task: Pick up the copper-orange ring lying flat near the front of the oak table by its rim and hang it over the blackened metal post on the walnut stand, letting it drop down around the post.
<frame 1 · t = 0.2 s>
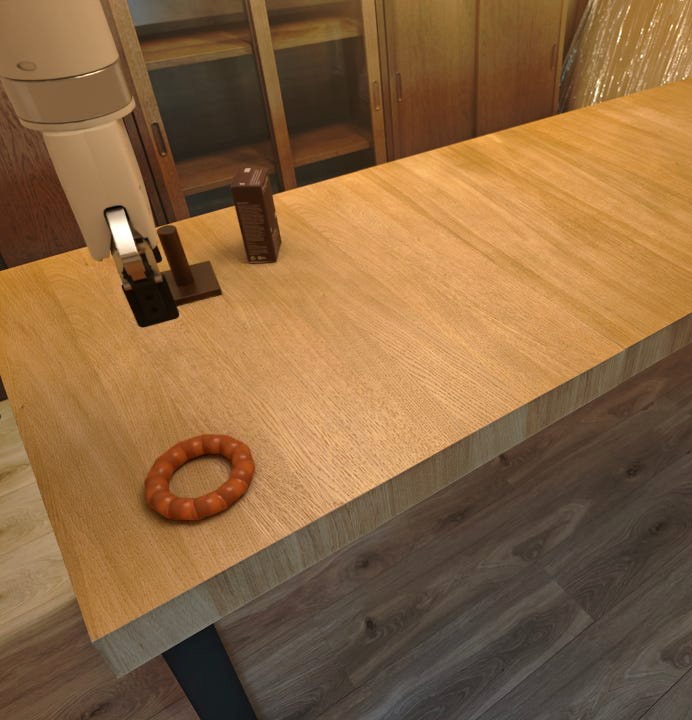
hand: (151, 291, 56), 18 cm above the table, tool pointing down, fingers open, 9 cm apart
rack: (186, 287, 89), on the table
ring: (200, 474, 63), point 1 cm above the table
box: (266, 253, 96), on the table
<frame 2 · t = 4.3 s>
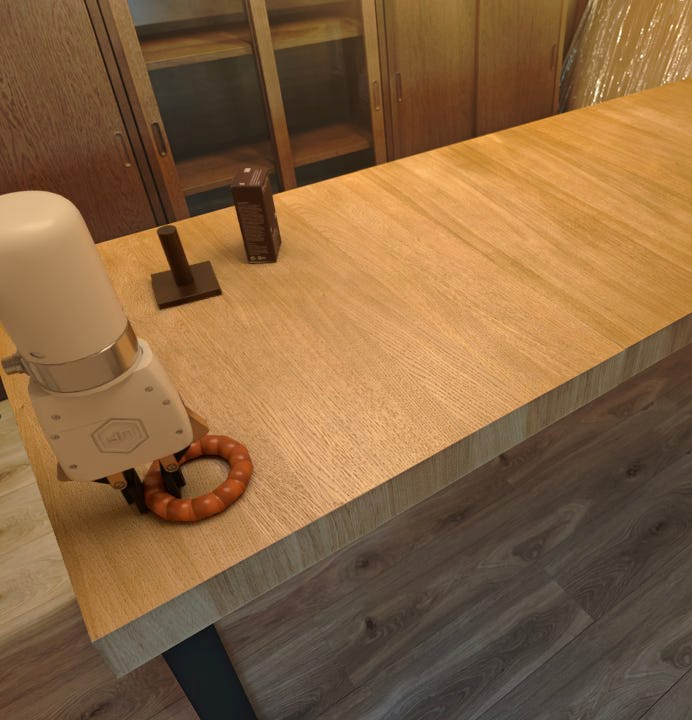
hand: (159, 495, 62), 0 cm above the table, tool pointing down, fingers closed on ring, 2 cm apart
ring: (198, 475, 63), point 1 cm above the table, touching gripper
everything else where it was.
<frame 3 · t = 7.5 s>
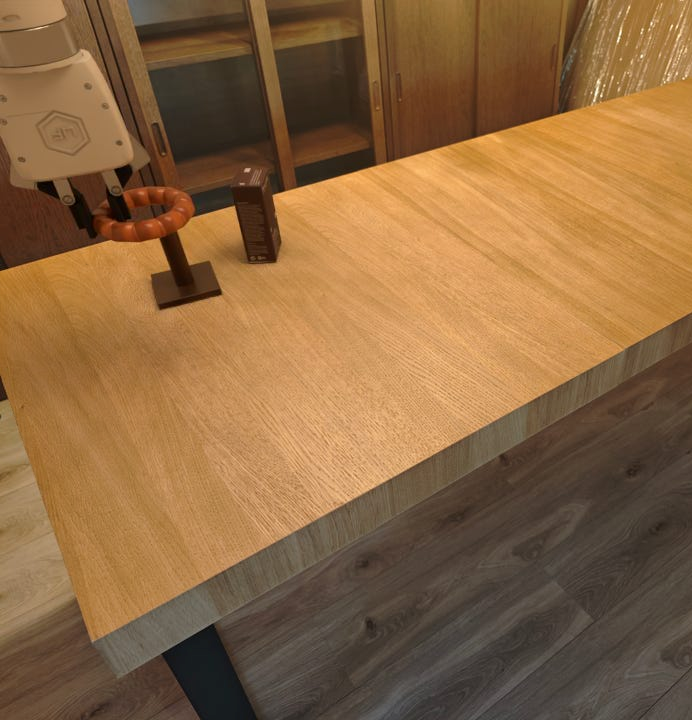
hand: (108, 228, 68), 17 cm above the table, tool pointing down, fingers closed on ring
ring: (144, 213, 69), point 17 cm above the table, touching gripper
everything else where it was.
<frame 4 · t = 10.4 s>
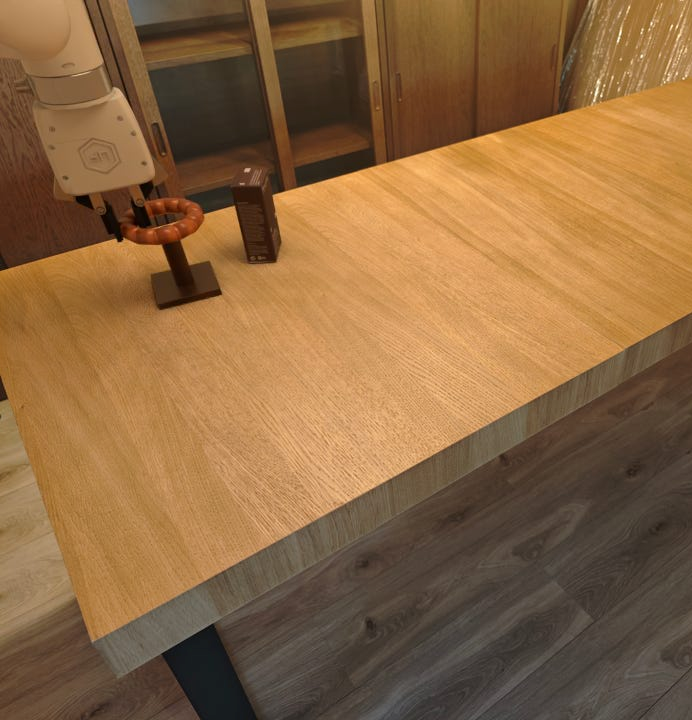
hand: (132, 233, 81), 9 cm above the table, tool pointing down, fingers closed on ring
ring: (162, 220, 82), point 10 cm above the table, touching gripper
everything else where it was.
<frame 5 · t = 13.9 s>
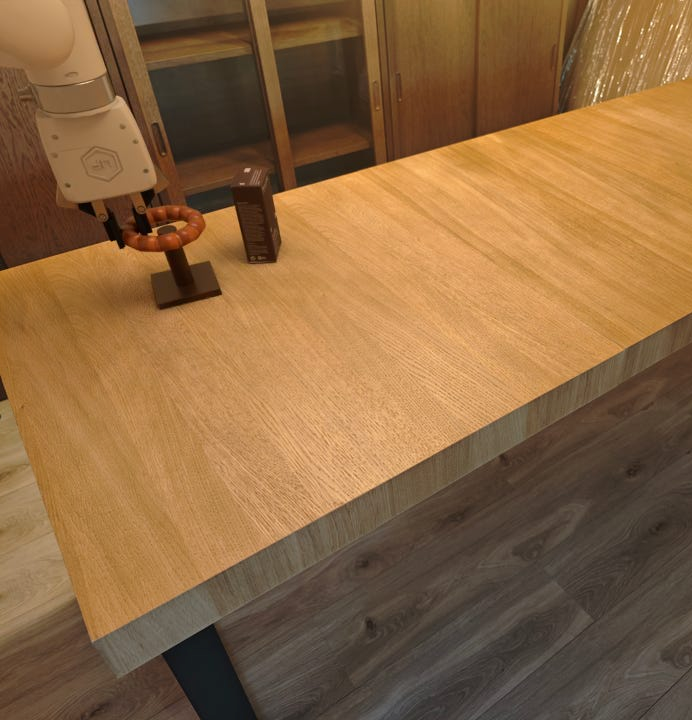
hand: (133, 240, 82), 9 cm above the table, tool pointing down, fingers closed on ring
ring: (163, 227, 83), point 9 cm above the table, touching gripper
everything else where it was.
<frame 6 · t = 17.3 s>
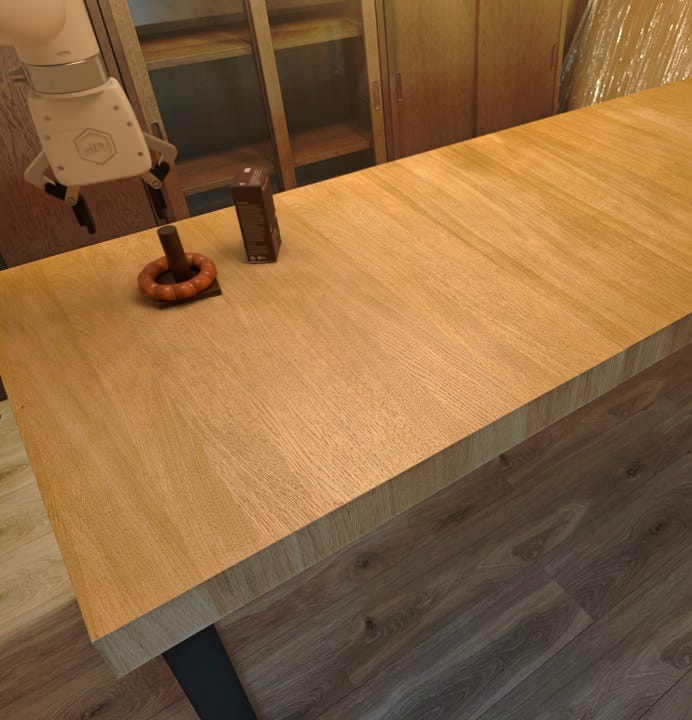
hand: (126, 221, 80), 11 cm above the table, tool pointing down, fingers open, 7 cm apart
ring: (177, 275, 88), point 2 cm above the table, touching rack
everything else where it was.
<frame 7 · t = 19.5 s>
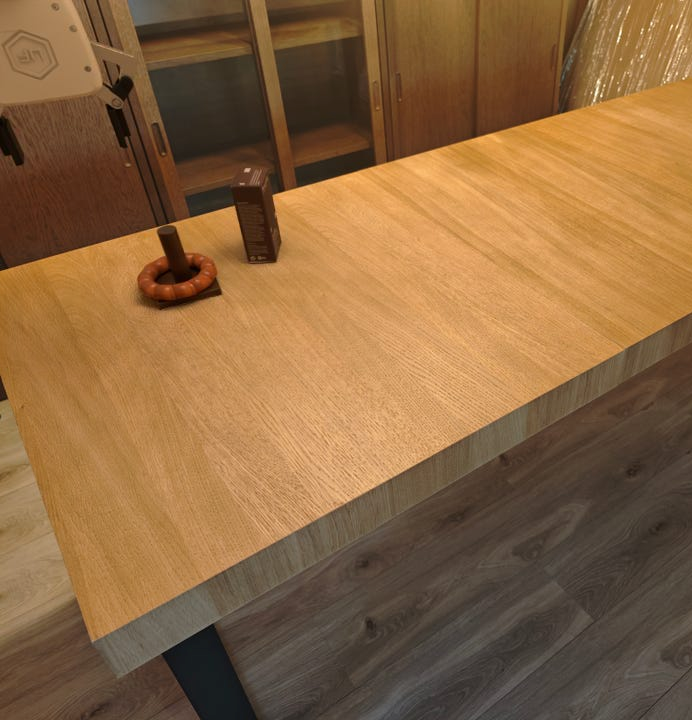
hand: (73, 152, 67), 23 cm above the table, tool pointing down, fingers open, 9 cm apart
nothing on the table moved.
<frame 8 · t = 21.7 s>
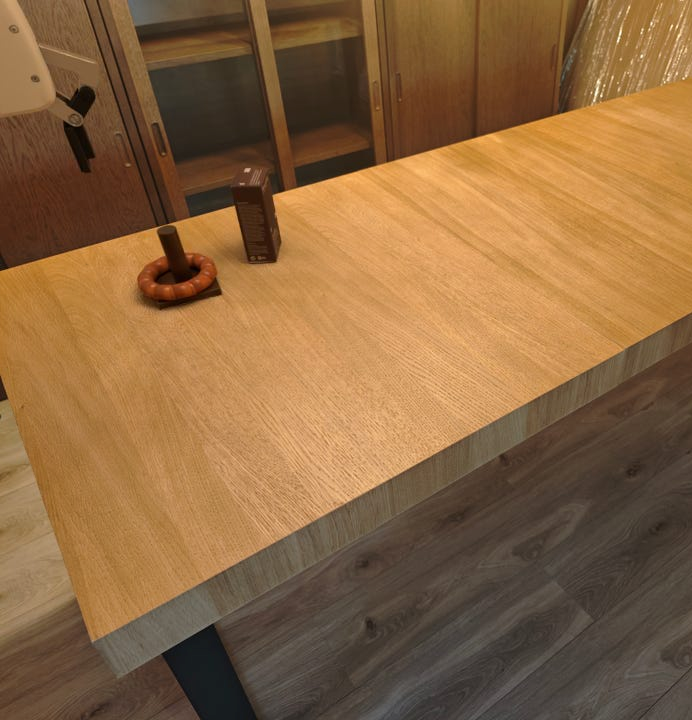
hand: (24, 178, 55), 26 cm above the table, tool pointing down, fingers open, 9 cm apart
nothing on the table moved.
at the end: ring 0.6 cm from the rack (horizontally); ring point 2.0 cm above the table; the gripper is holding nothing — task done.
